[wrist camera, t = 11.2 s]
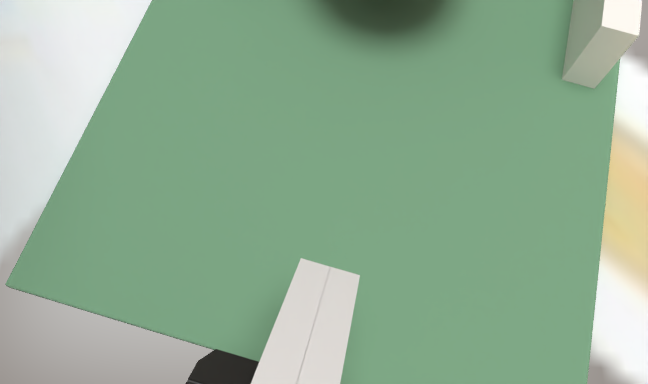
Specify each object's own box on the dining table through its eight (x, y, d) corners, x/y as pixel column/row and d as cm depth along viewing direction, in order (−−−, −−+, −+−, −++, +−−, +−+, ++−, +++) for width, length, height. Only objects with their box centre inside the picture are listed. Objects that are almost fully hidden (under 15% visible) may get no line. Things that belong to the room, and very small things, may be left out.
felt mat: (9, 287, 18) (5, 284, 18) (256, -196, 28) (256, -203, 27) (574, 459, 17) (579, 460, 17) (632, -99, 27) (636, -105, 27)
